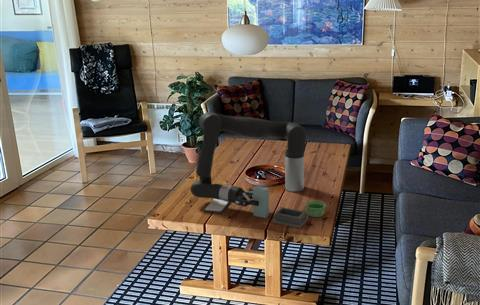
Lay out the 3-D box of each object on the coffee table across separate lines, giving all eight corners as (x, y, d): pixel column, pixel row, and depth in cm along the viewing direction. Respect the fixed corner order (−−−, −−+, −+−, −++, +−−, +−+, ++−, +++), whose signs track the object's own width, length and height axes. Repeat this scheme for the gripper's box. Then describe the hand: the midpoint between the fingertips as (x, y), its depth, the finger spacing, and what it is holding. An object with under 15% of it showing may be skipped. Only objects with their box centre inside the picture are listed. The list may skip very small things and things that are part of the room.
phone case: (221, 215, 234) (232, 200, 249) (221, 211, 234) (232, 197, 248) (203, 213, 237) (215, 199, 251) (203, 210, 236) (214, 195, 251)
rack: (280, 214, 231) (280, 206, 230) (308, 219, 225) (308, 211, 224) (272, 222, 224) (272, 213, 223) (300, 228, 218) (300, 219, 217)
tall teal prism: (257, 212, 234) (256, 185, 230) (269, 214, 231) (268, 187, 227) (253, 215, 231) (252, 188, 227) (265, 218, 228) (265, 190, 224)
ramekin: (301, 214, 231) (301, 205, 230) (312, 207, 237) (312, 198, 236) (318, 219, 225) (318, 210, 224) (329, 212, 232) (329, 203, 230)
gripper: (222, 192, 229) (255, 198, 221) (238, 181, 241) (270, 186, 233) (223, 207, 231) (255, 214, 224) (239, 196, 243) (270, 201, 235)
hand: (263, 200), depth 228 cm, fingers open, 8 cm apart
